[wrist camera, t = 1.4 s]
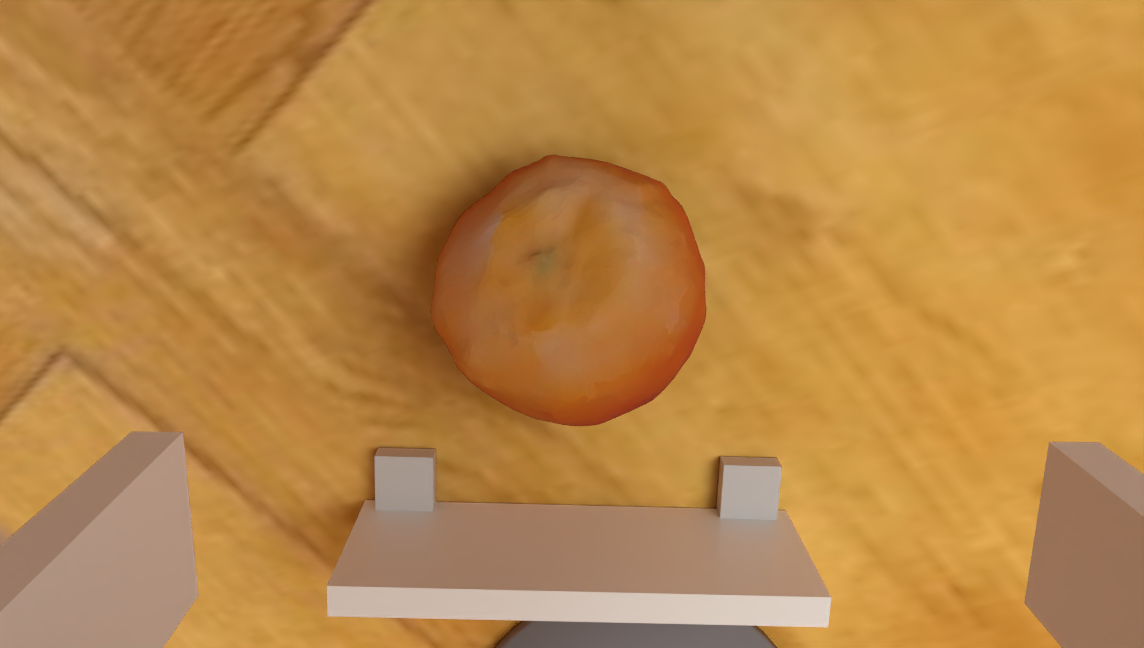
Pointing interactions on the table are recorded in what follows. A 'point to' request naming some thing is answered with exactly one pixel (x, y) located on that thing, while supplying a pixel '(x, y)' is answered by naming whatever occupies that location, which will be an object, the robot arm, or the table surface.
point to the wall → (577, 556)
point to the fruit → (571, 291)
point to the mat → (632, 635)
